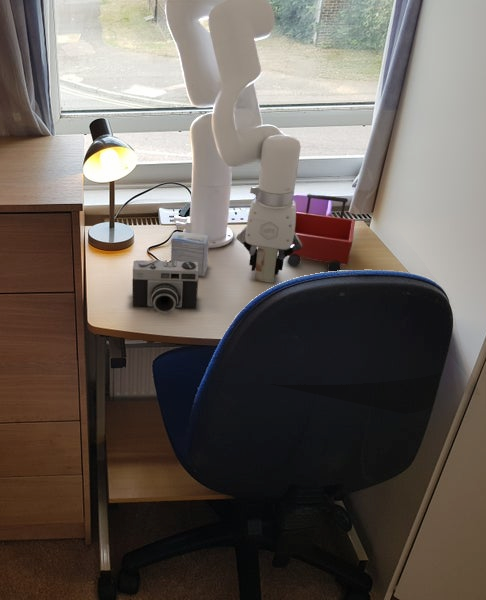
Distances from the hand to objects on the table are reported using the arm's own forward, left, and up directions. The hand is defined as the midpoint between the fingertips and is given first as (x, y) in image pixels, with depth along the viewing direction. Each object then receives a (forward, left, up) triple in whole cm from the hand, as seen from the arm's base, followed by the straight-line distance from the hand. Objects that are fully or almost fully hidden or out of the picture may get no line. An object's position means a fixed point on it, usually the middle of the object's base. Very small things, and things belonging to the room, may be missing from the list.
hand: (265, 269), depth 143 cm
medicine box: (-17, -3, -2) cm, 17 cm away
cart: (+10, +14, -2) cm, 17 cm away
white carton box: (0, 0, -2) cm, 2 cm away
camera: (-18, -20, -2) cm, 27 cm away
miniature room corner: (+6, +29, -2) cm, 30 cm away
